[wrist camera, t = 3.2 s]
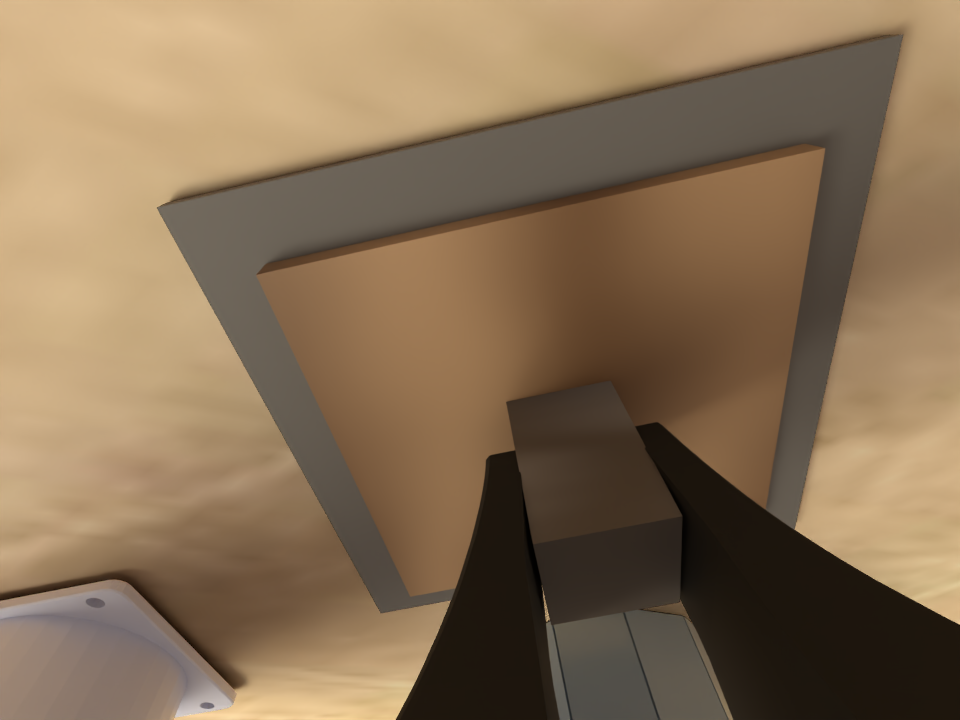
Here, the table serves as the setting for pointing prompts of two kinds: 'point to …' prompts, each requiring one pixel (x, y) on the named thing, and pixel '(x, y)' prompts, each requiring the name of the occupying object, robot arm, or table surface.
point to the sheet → (561, 366)
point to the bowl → (633, 669)
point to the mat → (534, 179)
